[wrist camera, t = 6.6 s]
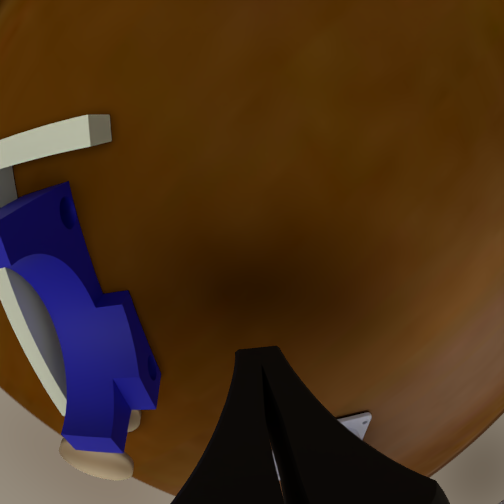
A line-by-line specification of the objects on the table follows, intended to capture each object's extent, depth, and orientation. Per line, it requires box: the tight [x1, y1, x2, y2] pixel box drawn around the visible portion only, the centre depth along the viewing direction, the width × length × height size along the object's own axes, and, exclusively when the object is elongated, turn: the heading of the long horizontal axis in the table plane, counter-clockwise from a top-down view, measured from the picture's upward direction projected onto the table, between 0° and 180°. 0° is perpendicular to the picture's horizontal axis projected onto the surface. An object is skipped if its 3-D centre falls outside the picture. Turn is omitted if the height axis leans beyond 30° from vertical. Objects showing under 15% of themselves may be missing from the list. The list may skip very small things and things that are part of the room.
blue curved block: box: [0, 181, 161, 453], centre depth 12 cm, size 12×4×6 cm, turn 7°
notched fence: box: [0, 115, 112, 416], centre depth 13 cm, size 16×7×2 cm, turn 2°
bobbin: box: [59, 410, 141, 480], centre depth 16 cm, size 5×5×5 cm
